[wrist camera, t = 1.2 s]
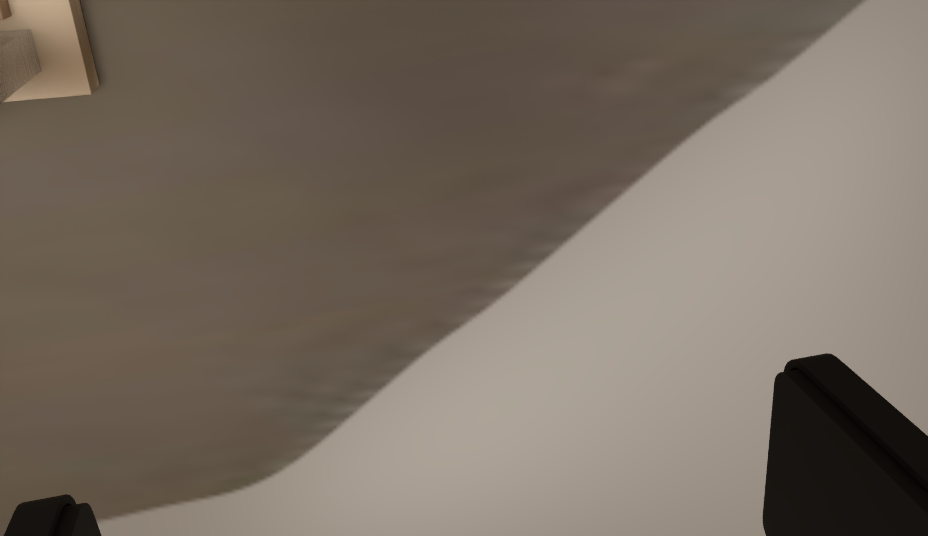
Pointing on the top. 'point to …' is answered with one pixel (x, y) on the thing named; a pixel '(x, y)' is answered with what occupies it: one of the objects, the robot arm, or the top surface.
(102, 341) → the top surface
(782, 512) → the robot arm
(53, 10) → the roll cradle
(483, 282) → the top surface
